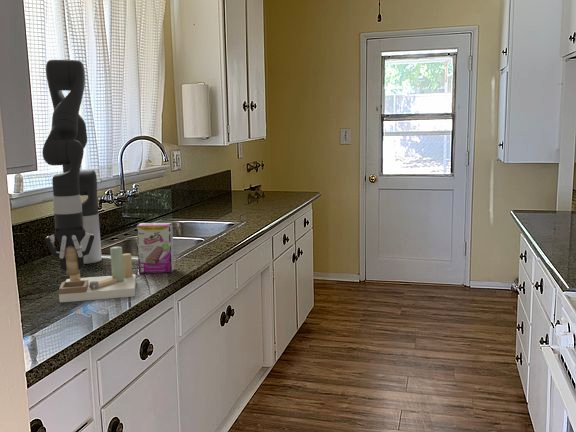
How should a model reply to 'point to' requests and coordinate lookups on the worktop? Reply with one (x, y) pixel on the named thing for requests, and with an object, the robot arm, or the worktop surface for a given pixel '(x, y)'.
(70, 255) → the loose leg
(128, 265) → the stool seat
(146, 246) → the candy bar box
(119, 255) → the hinged leg
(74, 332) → the worktop surface
